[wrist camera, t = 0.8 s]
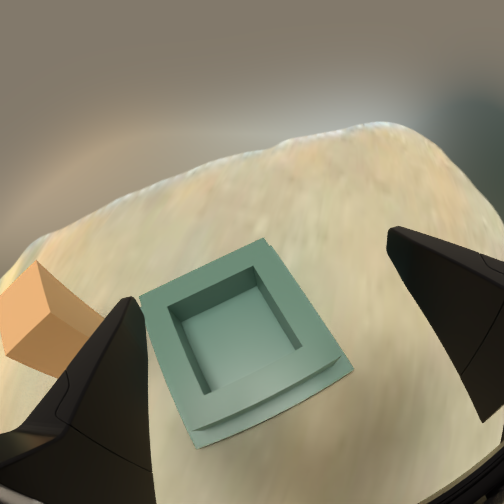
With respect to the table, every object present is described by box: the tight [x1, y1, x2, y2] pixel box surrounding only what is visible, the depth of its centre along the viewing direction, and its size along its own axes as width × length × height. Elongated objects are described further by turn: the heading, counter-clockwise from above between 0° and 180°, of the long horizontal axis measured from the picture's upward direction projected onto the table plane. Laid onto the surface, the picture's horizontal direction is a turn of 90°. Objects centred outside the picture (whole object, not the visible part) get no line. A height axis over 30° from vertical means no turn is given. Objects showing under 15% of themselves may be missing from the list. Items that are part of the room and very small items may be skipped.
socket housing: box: [139, 238, 354, 449], centre depth 22 cm, size 14×14×4 cm
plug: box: [0, 260, 105, 378], centre depth 18 cm, size 5×5×12 cm
